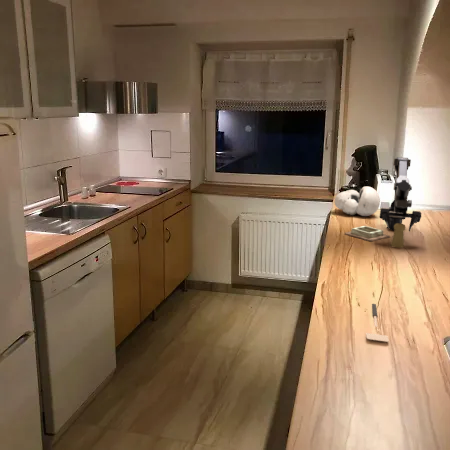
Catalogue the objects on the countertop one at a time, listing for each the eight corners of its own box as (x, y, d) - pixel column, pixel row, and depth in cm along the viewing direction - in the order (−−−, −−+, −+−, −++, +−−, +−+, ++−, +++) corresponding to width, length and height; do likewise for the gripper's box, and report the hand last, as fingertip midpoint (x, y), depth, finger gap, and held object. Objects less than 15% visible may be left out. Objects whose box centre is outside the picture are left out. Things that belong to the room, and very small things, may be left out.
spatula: (366, 343, 144) (366, 338, 144) (364, 304, 172) (364, 300, 172) (388, 346, 143) (388, 341, 142) (383, 306, 171) (383, 302, 170)
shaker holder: (363, 230, 269) (364, 224, 268) (389, 237, 257) (390, 230, 256) (344, 234, 259) (345, 228, 258) (370, 241, 247) (371, 235, 246)
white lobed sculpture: (341, 196, 321) (350, 170, 305) (377, 215, 313) (388, 189, 297) (326, 214, 309) (335, 188, 293) (363, 234, 301) (375, 208, 285)
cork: (388, 244, 244) (391, 222, 242) (400, 244, 245) (403, 222, 242) (393, 247, 239) (396, 225, 236) (405, 247, 239) (408, 225, 236)
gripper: (382, 191, 243) (380, 218, 236) (423, 195, 238) (422, 222, 231) (380, 204, 252) (378, 231, 245) (420, 208, 248) (419, 235, 240)
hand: (399, 229), depth 240 cm, fingers open, 9 cm apart
